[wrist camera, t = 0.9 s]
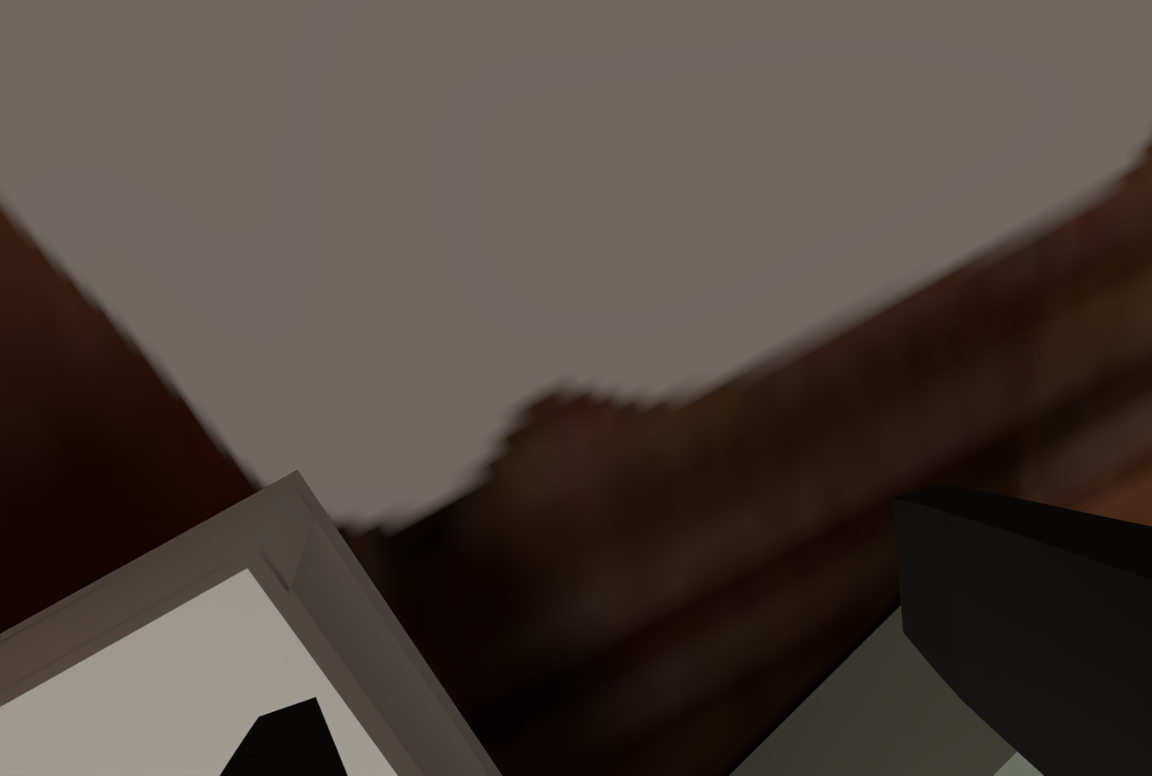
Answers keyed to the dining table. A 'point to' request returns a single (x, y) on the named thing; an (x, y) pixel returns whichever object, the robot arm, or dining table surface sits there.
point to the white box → (226, 658)
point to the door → (885, 722)
